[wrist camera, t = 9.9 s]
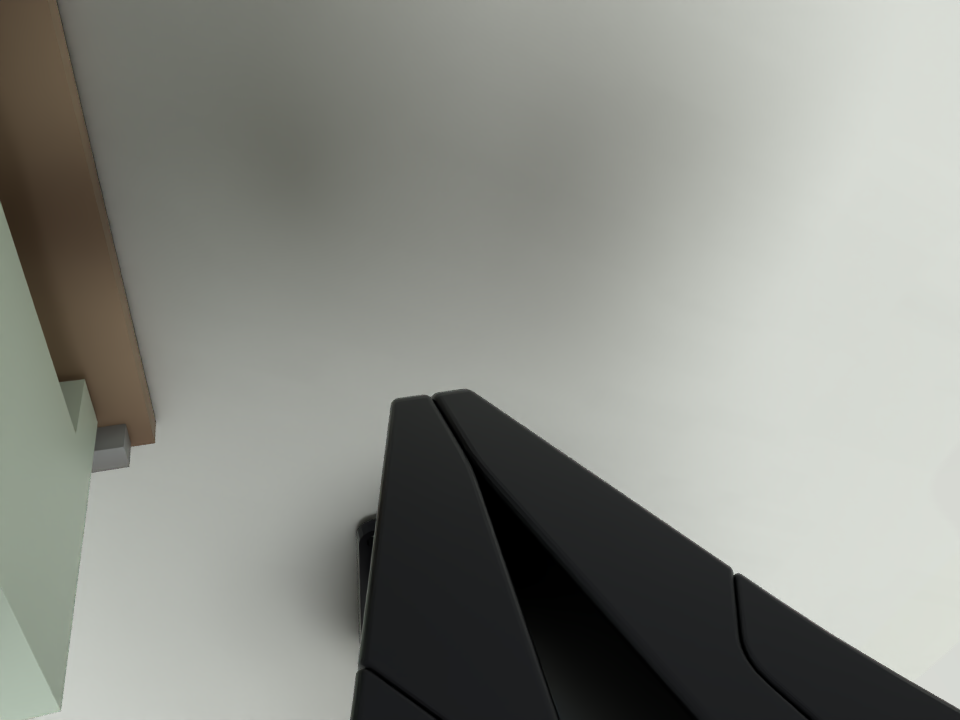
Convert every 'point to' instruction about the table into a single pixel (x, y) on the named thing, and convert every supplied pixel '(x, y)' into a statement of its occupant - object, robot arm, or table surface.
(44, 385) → the housing
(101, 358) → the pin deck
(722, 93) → the table surface
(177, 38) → the table surface
